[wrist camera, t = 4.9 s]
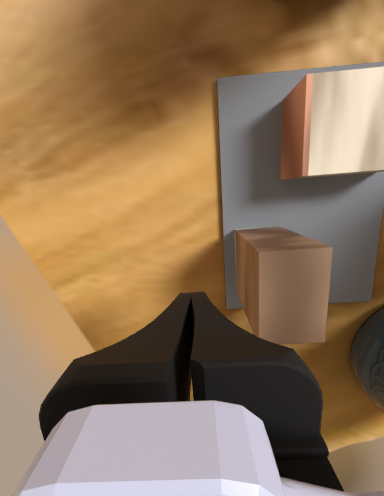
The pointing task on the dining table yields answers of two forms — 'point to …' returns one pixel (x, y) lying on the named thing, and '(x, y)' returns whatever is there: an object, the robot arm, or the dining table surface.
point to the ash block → (334, 124)
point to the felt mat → (292, 186)
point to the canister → (370, 358)
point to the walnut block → (283, 284)
